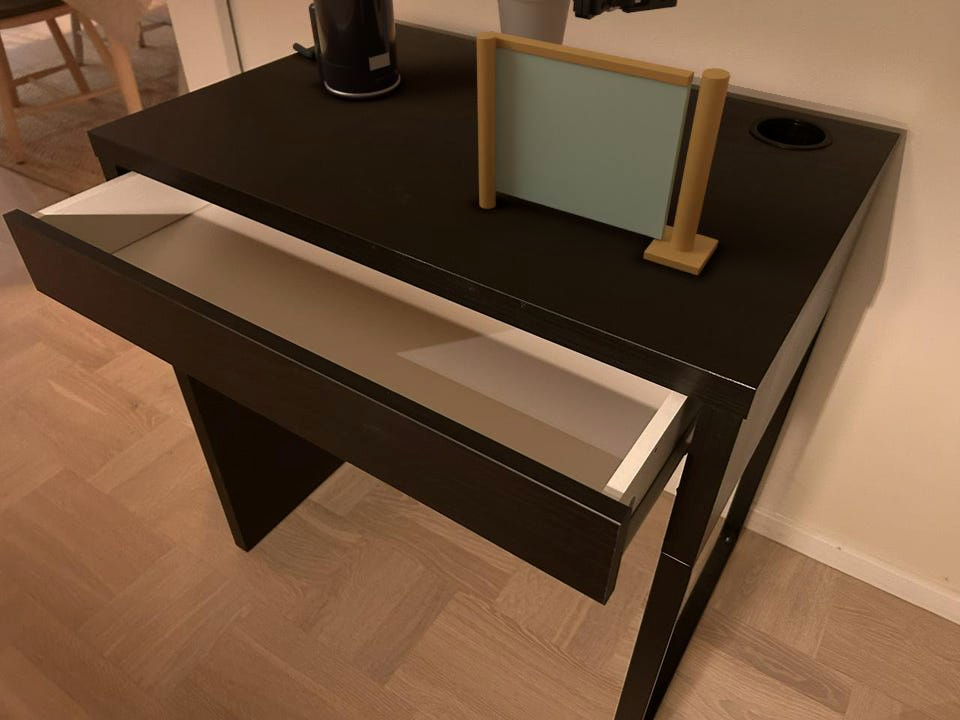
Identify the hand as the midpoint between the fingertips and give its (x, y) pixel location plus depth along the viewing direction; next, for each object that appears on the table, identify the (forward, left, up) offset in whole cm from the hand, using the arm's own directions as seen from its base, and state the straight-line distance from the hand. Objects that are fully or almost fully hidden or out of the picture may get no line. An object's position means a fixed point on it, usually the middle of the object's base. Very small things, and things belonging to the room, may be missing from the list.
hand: (582, 7), depth 70 cm
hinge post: (+18, -10, -15) cm, 25 cm away
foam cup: (-15, +14, -15) cm, 26 cm away
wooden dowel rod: (-1, -14, -15) cm, 20 cm away
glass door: (+7, -11, -14) cm, 19 cm away
